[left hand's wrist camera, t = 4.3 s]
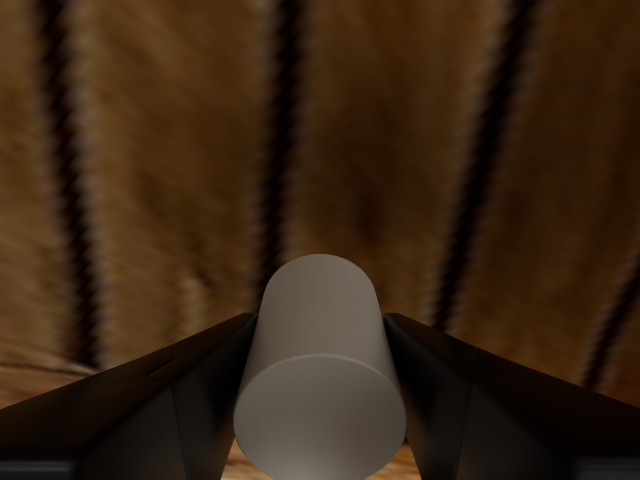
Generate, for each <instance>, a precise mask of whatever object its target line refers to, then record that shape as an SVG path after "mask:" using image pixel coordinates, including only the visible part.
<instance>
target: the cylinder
mask: <svg viewBox="0 0 640 480" xmlns="http://www.w3.org/2000/svg"><path fill="white" fill-rule="evenodd" d="M233 429H234V434H235V438H236V440H237V443H238V445H239V447H240V448H241V450H242V452H243V453H244V455H245V456H246V457H247V458H248V460H249V461H250V462H251V463H252V464H254V465H255V466H256V467H257V468H258V469H260V470H261V471H262V472H264V473H266V474H267V475H269V476H271V477H273V478H275V479H277V480H363V479H365V478H367V477H369V476H371V475H373V474H374V473H376V472H378V471H379V470H380V469H382V468H383V467H384V466H385V465H387V464H388V463H389V462H390V461H391V459H392V458H393V457H394V456H395V455H396V453H397V452H398V450H399V449H400V447H401V445H402V443H403V440H404V437H405V434H406V429H407V411H406V406H405V402H404V398H403V394H402V391H401V387H400V383H399V379H398V376H397V372H396V368H395V364H394V361H393V357H392V353H391V349H390V346H389V342H388V338H387V334H386V331H385V327H384V323H383V319H382V316H381V312H380V308H379V304H378V301H377V297H376V293H375V290H374V287H373V285H372V283H371V281H370V279H369V278H368V277H367V275H366V274H365V273H364V272H363V271H362V270H361V269H360V268H359V267H357V266H356V265H355V264H353V263H352V262H350V261H348V260H346V259H343V258H341V257H337V256H334V255H327V254H313V255H307V256H302V257H299V258H296V259H294V260H292V261H290V262H288V263H287V264H285V265H284V266H282V267H281V268H280V269H279V270H278V271H277V272H276V273H275V274H274V275H273V276H272V278H271V279H270V281H269V283H268V285H267V287H266V290H265V293H264V297H263V300H262V304H261V308H260V312H259V316H258V319H257V323H256V327H255V331H254V334H253V338H252V342H251V346H250V349H249V353H248V357H247V361H246V365H245V368H244V372H243V376H242V380H241V383H240V387H239V391H238V395H237V399H236V402H235V406H234V411H233Z"/></svg>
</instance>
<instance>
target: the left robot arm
mask: <svg viewBox="0 0 640 480" xmlns="http://www.w3.org/2000/svg"><path fill="white" fill-rule="evenodd" d="M257 319H258V315H257V314H256V313H242V314H240V315H238V316H236V317H233V318H231V319H229V320H226V321H224V322H222V323H220V324H217V325H215V326H213V327H211V328H208V329H206V330H204V331H201V332H199V333H197V334H195V335H192V336H190V337H188V338H186V339H183V340H181V341H179V342H176V343H174V344H172V345H170V346H167V347H166V348H165V347H164V348H162V349H159V350H157V351H155V352H152V353H150V354H148V355H145V356H143V357H140V358H138V359H135V360H133V361H130V362H127V363H125V364H122V365H120V366H117V367H114V368H112V369H109V370H106V371H103V372H101V373H98V374H95V375H92V376H90V377H87V378H84V379H82V380H79V381H76V382H73V383H71V384H68V385H65V386H63V387H60V388H57V389H54V390H52V391H49V392H46V393H44V394H41V395H38V396H35V397H33V398H30V399H27V400H24V401H22V402H19V403H16V404H14V405H11V406H8V407H5V408H3V409H0V480H220V479H221V476H222V473H223V470H224V467H225V464H226V461H227V458H228V455H229V452H230V449H231V446H232V443H233V440H234V437H235V434H234V429H233V411H234V406H235V402H236V399H237V395H238V391H239V387H240V383H241V380H242V376H243V372H244V368H245V365H246V361H247V357H248V353H249V349H250V346H251V342H252V338H253V334H254V331H255V327H256V323H257ZM383 323H384V327H385V331H386V334H387V338H388V342H389V346H390V349H391V353H392V357H393V361H394V364H395V368H396V372H397V376H398V379H399V383H400V387H401V391H402V394H403V398H404V402H405V406H406V411H407V429H406V435H407V438H408V441H409V444H410V447H411V450H412V453H413V455H414V458H415V461H416V464H417V467H418V470H419V473H420V476H421V479H422V480H640V408H638V407H635V406H632V405H630V404H627V403H624V402H621V401H619V400H616V399H613V398H611V397H608V396H605V395H602V394H600V393H597V392H594V391H591V390H589V389H586V388H583V387H580V386H578V385H575V384H572V383H569V382H567V381H564V380H561V379H558V378H556V377H553V376H550V375H548V374H545V373H542V372H539V371H537V370H534V369H531V368H528V367H526V366H523V365H520V364H518V363H515V362H512V361H510V360H507V359H504V358H502V357H500V356H497V355H495V354H492V353H490V352H488V351H485V350H483V349H481V348H478V347H477V348H476V347H475V346H473V345H470V344H468V343H466V342H463V341H461V340H459V339H456V338H454V337H452V336H450V335H447V334H445V333H443V332H440V331H438V330H436V329H434V328H431V327H429V326H427V325H424V324H422V323H420V322H418V321H415V320H413V319H411V318H408V317H406V316H404V315H401V314H399V313H385V314H384V318H383Z"/></svg>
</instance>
